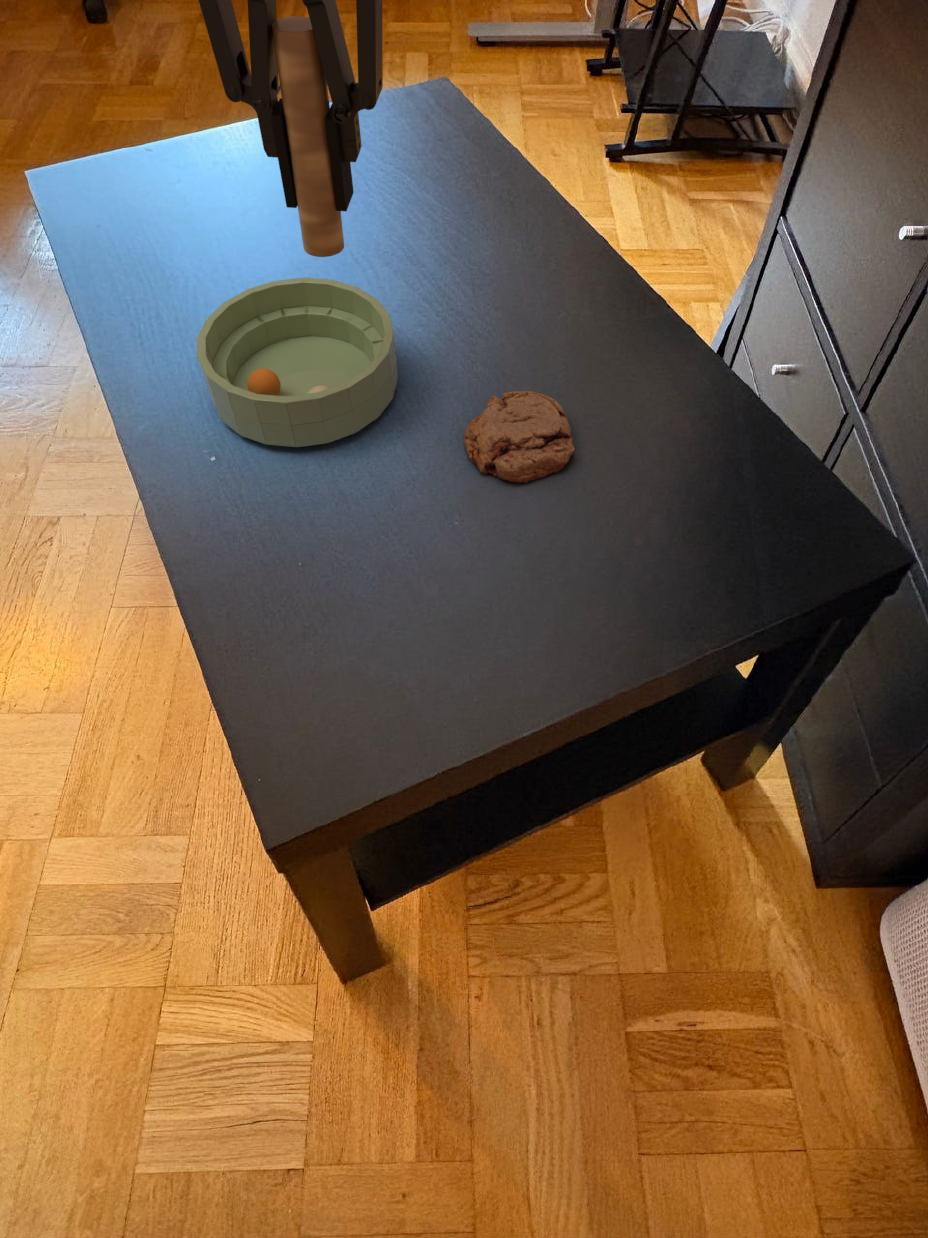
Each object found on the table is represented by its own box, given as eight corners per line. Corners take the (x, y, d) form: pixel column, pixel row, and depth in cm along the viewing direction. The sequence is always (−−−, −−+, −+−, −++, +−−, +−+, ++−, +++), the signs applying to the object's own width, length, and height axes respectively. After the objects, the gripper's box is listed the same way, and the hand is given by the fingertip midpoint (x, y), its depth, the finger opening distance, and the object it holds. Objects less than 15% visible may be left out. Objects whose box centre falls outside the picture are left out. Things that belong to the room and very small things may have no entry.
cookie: (574, 406, 79) (577, 381, 77) (572, 489, 73) (576, 464, 71) (468, 401, 80) (468, 375, 77) (458, 482, 74) (458, 458, 71)
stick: (299, 255, 66) (265, 30, 54) (309, 235, 68) (278, 14, 56) (339, 258, 66) (314, 32, 54) (348, 238, 68) (325, 16, 56)
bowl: (189, 444, 77) (169, 392, 72) (243, 324, 87) (229, 271, 82) (378, 461, 75) (372, 409, 71) (411, 337, 85) (407, 284, 80)
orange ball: (286, 386, 77) (253, 381, 75) (278, 410, 79) (246, 406, 78) (281, 364, 78) (249, 359, 77) (273, 388, 81) (242, 384, 79)
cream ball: (350, 398, 77) (334, 415, 75) (332, 414, 79) (317, 431, 77) (326, 373, 76) (309, 389, 74) (309, 390, 78) (293, 406, 76)
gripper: (418, -242, 47) (432, 180, 66) (136, -250, 48) (231, 167, 67) (395, -206, 42) (417, 234, 62) (86, -216, 44) (202, 219, 63)
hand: (320, 199), depth 64 cm, fingers closed on stick, 3 cm apart
